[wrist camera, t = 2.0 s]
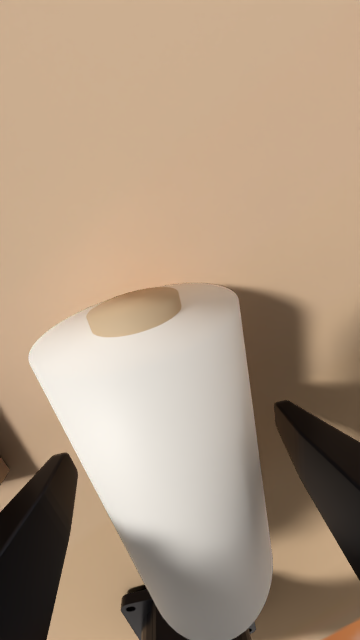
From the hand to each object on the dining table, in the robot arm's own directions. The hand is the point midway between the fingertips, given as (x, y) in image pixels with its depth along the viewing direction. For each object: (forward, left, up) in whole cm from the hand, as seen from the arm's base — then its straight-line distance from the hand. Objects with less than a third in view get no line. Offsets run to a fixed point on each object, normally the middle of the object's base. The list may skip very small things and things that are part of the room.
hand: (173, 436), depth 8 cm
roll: (0, 0, -1) cm, 1 cm away
